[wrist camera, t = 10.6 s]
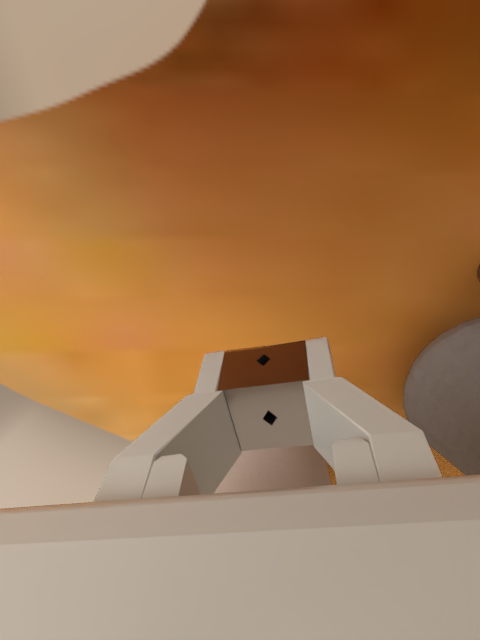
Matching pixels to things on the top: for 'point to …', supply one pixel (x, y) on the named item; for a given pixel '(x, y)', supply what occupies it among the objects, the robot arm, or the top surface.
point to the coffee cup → (276, 470)
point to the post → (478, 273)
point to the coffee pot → (449, 395)
